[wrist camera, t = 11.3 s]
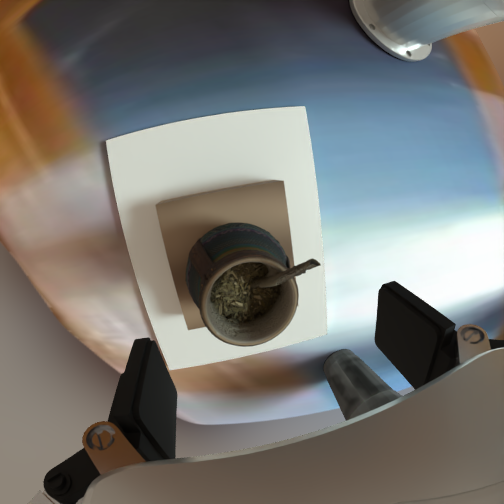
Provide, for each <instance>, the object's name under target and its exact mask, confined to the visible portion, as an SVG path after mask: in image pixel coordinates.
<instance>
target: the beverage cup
mask: <svg viewBox="0 0 504 504" xmlns="http://www.w3.org/2000/svg"><path fill="white" fill-rule="evenodd" d="M323 370H324V372H325V375H326V377H327V381H328V383H329V385H330V387H331V389H332V391H333V393H334V396H335V398H336V400H337V402H338V404H339V406H340V409H341V411H342V413H343V415H344V417H345V419H346V421H347V420H349V419H352V418H355V417H357V416H360V415H362V414H365V413H367V412H369V411H372V410H374V409H376V408H379V407H381V406H383V405H385V404H387V403H390V402H392V401H394V400H396V399H398V398H400V397H402V395H400V394H399V393H397V392H396V391H395V390H393V389H392V388H391V387H389V386H388V385H387V384H386V383H385V382H384V381H383V380H382V379H381V378H380V377H379V376H378V375H377V374H376V373H375V372H374V371H373V370H372V369H371V368H370V367H368V366H367V365H366V364H365V363H364V362H363V361H362V360H361V359H360V358H359V357H358V356H356V355H355V354H354V353H353V352H352V351H351V350H348V349H343V350H339V351H336V352H335V353H333V354H332V355H331V356H330V357H329V358H328V359H327V360H326V362H325V363H324V366H323Z"/></svg>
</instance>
